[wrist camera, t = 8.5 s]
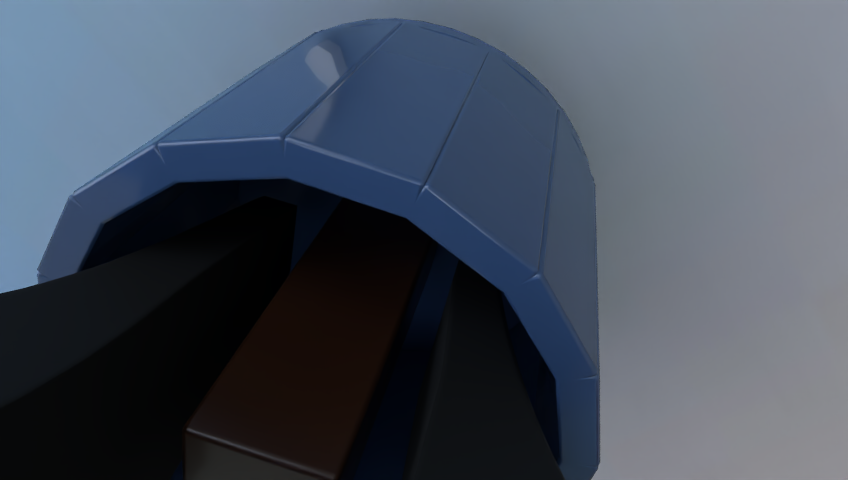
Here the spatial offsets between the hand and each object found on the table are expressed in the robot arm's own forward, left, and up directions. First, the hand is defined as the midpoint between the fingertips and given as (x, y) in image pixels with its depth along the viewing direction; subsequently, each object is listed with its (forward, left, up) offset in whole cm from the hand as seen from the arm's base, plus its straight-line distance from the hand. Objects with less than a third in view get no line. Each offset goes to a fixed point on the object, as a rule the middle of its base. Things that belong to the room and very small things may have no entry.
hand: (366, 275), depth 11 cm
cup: (0, 0, -2) cm, 2 cm away
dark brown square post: (0, 0, -2) cm, 2 cm away
